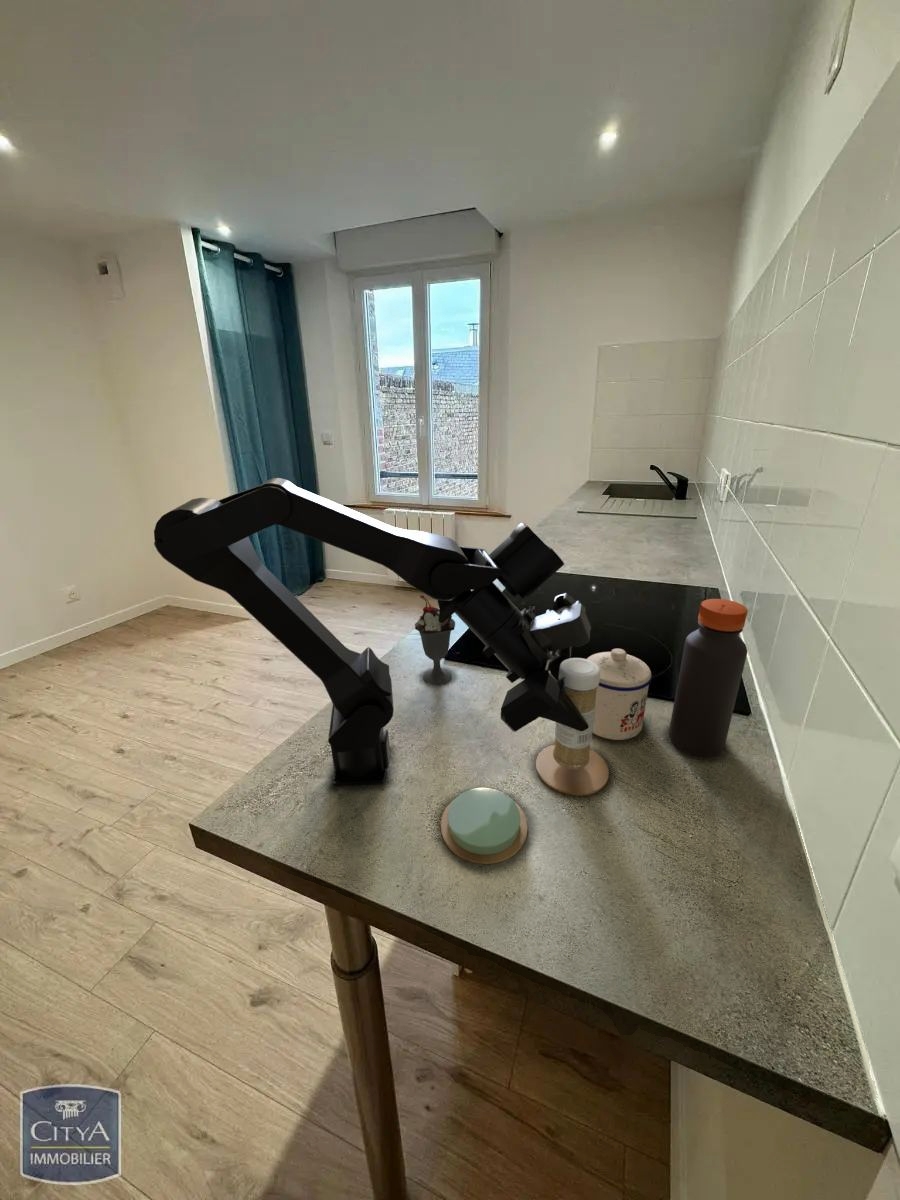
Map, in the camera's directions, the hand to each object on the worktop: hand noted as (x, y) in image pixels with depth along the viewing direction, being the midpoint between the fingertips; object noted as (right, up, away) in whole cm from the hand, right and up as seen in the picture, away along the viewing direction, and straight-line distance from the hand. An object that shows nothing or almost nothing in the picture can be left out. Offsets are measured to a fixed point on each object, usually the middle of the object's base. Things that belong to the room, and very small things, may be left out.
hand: (586, 717), depth 56 cm
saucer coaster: (-13, -11, -4) cm, 17 cm away
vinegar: (+17, -5, +8) cm, 19 cm away
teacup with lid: (+8, -3, +13) cm, 16 cm away
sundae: (-19, +1, +25) cm, 31 cm away
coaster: (-1, -7, +4) cm, 8 cm away
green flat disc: (-13, -11, -4) cm, 17 cm away
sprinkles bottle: (-1, -6, +3) cm, 7 cm away
